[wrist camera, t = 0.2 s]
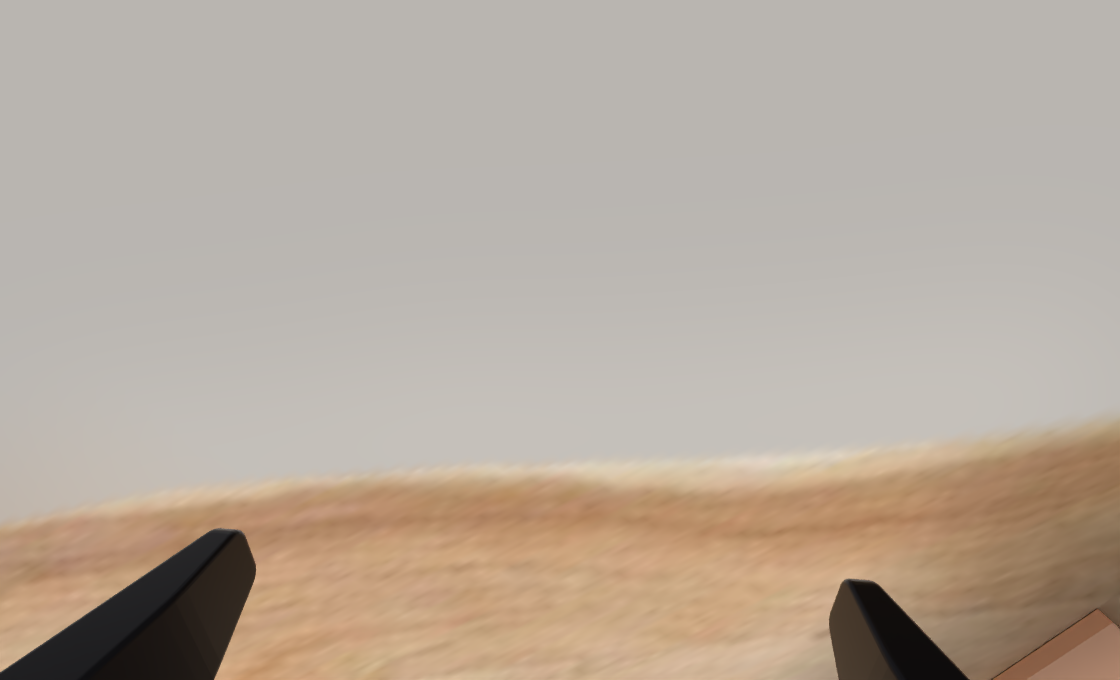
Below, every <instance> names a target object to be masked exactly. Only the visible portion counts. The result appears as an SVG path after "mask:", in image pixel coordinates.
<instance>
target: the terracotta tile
mask: <svg viewBox="0 0 1120 680" xmlns="http://www.w3.org/2000/svg"><path fill="white" fill-rule="evenodd" d="M993 680H1120V628H1118V627H1117V626H1116V625H1115V624H1114V623H1113V622H1112V621H1111V620H1110V619H1109V618H1108V617H1106V616H1105V615H1104V614H1103V613H1102V612H1101V611H1100V610H1099V609H1097V610H1095V611H1094V612H1092V613H1091V614H1089V615H1088V616H1086V617H1085V618H1083V619H1082V620H1080V621H1079V622H1078V623H1076V624H1075V625H1073V626H1072V627H1070V628H1069V629H1067V630H1066V631H1064V632H1063V633H1061V634H1060V635H1058V636H1057V637H1055V638H1054V639H1052V640H1051V641H1049V642H1048V643H1046V644H1045V645H1043V646H1042V647H1040V648H1039V649H1037V650H1036V651H1034V652H1033V653H1031V654H1030V655H1028V656H1027V657H1025V658H1024V659H1022V660H1021V661H1019V662H1018V663H1017V664H1015V665H1014V666H1012V667H1011V668H1009V669H1008V670H1006V671H1005V672H1003V673H1002V674H1000V675H999V676H997V677H996V678H994V679H993Z"/></svg>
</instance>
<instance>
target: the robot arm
mask: <svg viewBox="0 0 1120 680" xmlns="http://www.w3.org/2000/svg"><path fill="white" fill-rule="evenodd" d="M255 575H256V564H255V561H254V558H253V556H252V553H251V550H250V547H249V545H248V542H247V539H246V536H245V535H244V533H243V532H242V531H240V530H235V529H222V528H218V529H214V530H211V531H209V532H208V533H206V534H205V535H203V536H202V537H200V538H199V539H197V540H196V541H194V542H193V543H191V544H190V545H188V546H187V547H185V548H184V549H182V550H181V551H179V552H178V553H176V554H175V555H173V556H172V557H170V558H169V559H168V560H166V561H165V562H163V563H162V564H160V565H159V566H157V567H156V568H154V569H153V570H151V571H150V572H148V573H147V574H145V575H144V576H142V577H141V578H139V579H138V580H136V581H135V582H133V583H132V584H130V585H129V586H128V587H126V588H125V589H123V590H122V591H120V592H119V593H117V594H116V595H114V596H113V597H111V598H110V599H108V600H107V601H105V602H104V603H102V604H101V605H99V606H98V607H96V608H95V609H93V610H92V611H90V612H89V613H88V614H86V615H85V616H83V617H82V618H80V619H79V620H77V621H76V622H74V623H73V624H71V625H70V626H68V627H67V628H65V629H64V630H62V631H61V632H59V633H58V634H56V635H55V636H53V637H52V638H50V639H49V640H48V641H46V642H45V643H43V644H42V645H40V646H39V647H37V648H36V649H34V650H33V651H31V652H30V653H28V654H27V655H25V656H24V657H22V658H21V659H19V660H18V661H16V662H15V663H13V664H12V665H10V666H9V667H8V668H6V669H5V670H3V671H2V672H0V680H214V678H215V676H216V674H217V672H218V669H219V667H220V665H221V662H222V660H223V657H224V655H225V652H226V650H227V647H228V645H229V642H230V640H231V637H232V635H233V632H234V630H235V627H236V625H237V622H238V620H239V617H240V615H241V612H242V610H243V607H244V605H245V602H246V600H247V597H248V595H249V592H250V590H251V587H252V585H253V582H254V579H255ZM829 628H830V635H831V640H832V646H833V651H834V657H835V662H836V667H837V673H838V678H839V680H969V679H968V678H967V676H966V675H965V674H964V673H963V672H962V671H961V670H960V669H959V668H958V667H957V666H956V665H955V664H954V663H953V662H952V661H951V660H950V659H949V658H948V657H947V656H946V655H945V653H944V652H943V651H942V650H941V649H940V648H939V647H938V646H937V645H936V644H935V643H934V642H933V641H932V640H931V639H930V638H929V637H928V636H927V635H926V634H925V633H924V632H923V630H922V629H921V628H920V627H919V626H918V625H917V624H916V623H915V622H914V621H913V620H912V619H911V618H910V617H909V616H908V615H907V614H906V613H905V612H904V611H903V610H902V608H901V607H900V606H899V605H898V604H897V603H896V602H895V601H894V600H893V599H892V598H891V597H890V596H889V595H888V594H887V593H886V592H885V591H884V590H883V589H882V588H881V587H880V586H879V585H878V584H877V583H875V582H873V581H870V580H859V579H846V580H844V581H843V582H842V584H841V586H840V588H839V591H838V594H837V596H836V599H835V602H834V604H833V607H832V610H831V612H830V617H829Z"/></svg>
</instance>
